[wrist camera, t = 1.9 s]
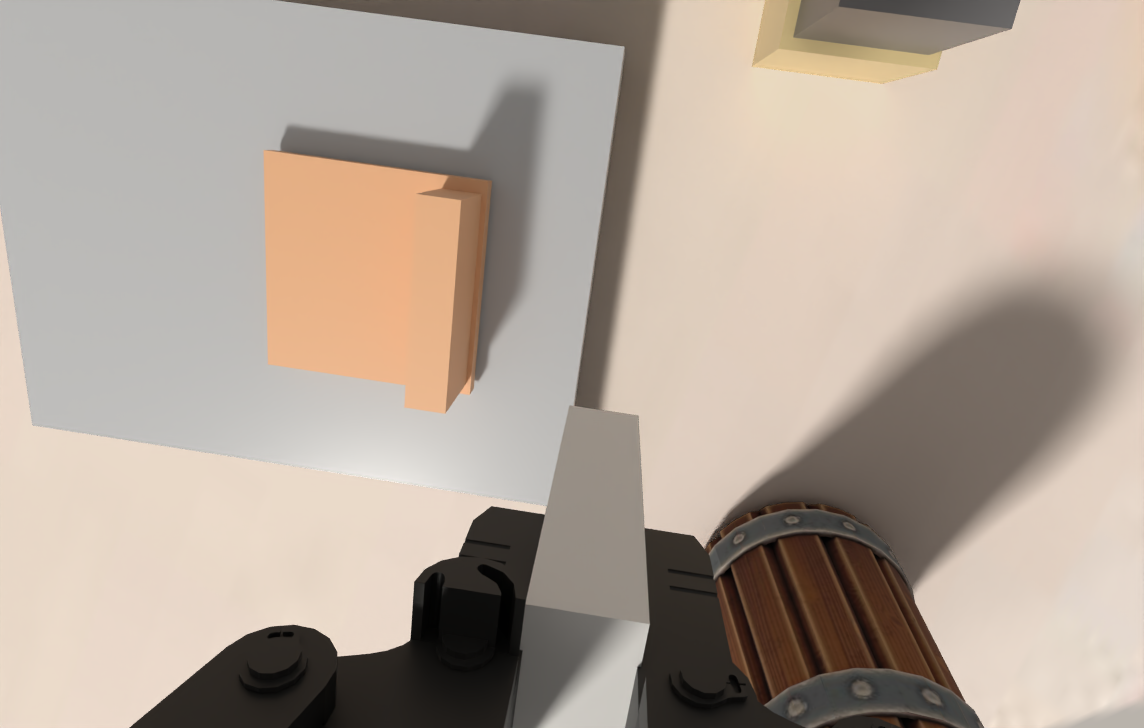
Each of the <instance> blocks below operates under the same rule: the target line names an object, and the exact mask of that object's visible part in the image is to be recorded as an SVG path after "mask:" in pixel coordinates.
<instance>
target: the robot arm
mask: <svg viewBox="0 0 1144 728" xmlns="http://www.w3.org/2000/svg"><path fill="white" fill-rule="evenodd" d="M130 728H806V727H803V726H801V725H799V724H796V723H794V722H792V721H789V720H787V719H786V718H784V717H782V716H780V715H778V714H776V713H774V712H772V711H771V710H770V709H768V708H767V707H765V706H764V705H763V704H761V703H760V702H759V701H758V700H757V696H756V693H755V691H754V689H753V687H752V685H751V683H750V681H749V679H748V677H747V676H746V675H745V674H744V673H743V672H742V671H741V670H740V669H739V668H738V667H737V666H736V665H735V664H734V663H732V658H731V654H730V649H729V644H728V640H727V635H726V630H725V626H724V621H723V616H722V612H721V607H720V602H719V598H718V597H717V588H716V584H715V580H714V574H713V570H712V565H711V560H710V556H709V554H708V553H707V552H706V551H705V549H704V548H703V547H702V546H701V544H700V543H699V542H698V541H697V539H696V538H695V537H694V536H691V535H684V534H678V533H672V532H665V531H659V530H653V529H646V528H644V510H643V491H642V473H641V454H640V436H639V417H638V416H637V415H631V414H624V413H618V412H611V411H604V410H598V409H591V408H585V407H578V406H571V405H569V409H568V414H567V418H566V423H565V427H564V432H563V436H562V441H561V445H560V450H559V454H558V459H557V463H556V468H555V472H554V477H553V481H552V486H551V490H550V495H549V499H548V504H547V508H546V513H545V515H544V514H537V513H531V512H525V511H518V510H512V509H505V508H499V507H493V506H491V507H490V508H489V509H487V510H486V511H485V512H484V513H482V514H481V515H480V516H478V517H477V518H476V519H474V520H473V522H472V525H471V527H470V529H469V532H468V534H467V537H466V539H465V543H464V544H463V546H462V549H461V551H460V553H459V557H457V558H452V559H447V560H442V561H440V562H438V563H436V564H434V565H432V566H430V567H428V568H427V569H425V570H424V571H423V572H422V573H421V575H420V576H419V577H418V578H417V579H416V580H415V582H414V596H413V611H412V626H411V639H410V641H409V642H407V643H406V644H404V645H402V646H399V647H396V648H393V649H391V650H388V651H383V652H377V653H372V654H362V655H352V656H341V657H337V651H336V649H335V647H334V645H333V644H332V642H331V640H330V638H328V637H327V636H325V635H323V634H322V633H320V632H319V631H317V630H315V629H312V628H307V627H302V626H297V625H287V626H274V627H268V628H265V629H262V630H259V631H256V632H253V633H250V634H247V635H245V636H244V637H242V638H241V639H239V640H237V641H236V642H234V643H233V644H231V645H229V646H228V647H226V648H225V649H224V650H223V651H221V652H220V653H219V654H218V655H217V656H215V657H214V658H213V659H212V660H211V661H209V662H208V663H207V664H206V665H205V666H203V667H202V668H201V669H200V670H198V671H197V672H196V673H195V674H194V675H192V676H191V677H190V678H189V679H188V680H186V681H185V682H184V683H183V684H182V685H180V686H179V687H178V688H177V689H176V690H174V691H173V692H172V693H171V694H170V695H168V696H167V697H166V698H165V699H163V700H162V701H161V702H160V703H159V704H157V705H156V706H155V707H154V708H153V709H151V710H150V711H149V712H148V713H147V714H145V715H144V716H143V717H142V718H141V719H139V720H138V721H137V722H136V723H135V724H133V725H132V726H131V727H130ZM832 728H901V727H898V726H896V725H894V724H891V723H889V722H886V721H884V720H881V719H879V718H872V717H865V716H858V715H856V716H852V717H848V718H844V719H840V720H839V721H838V722H837V723H836V724H835V725H834V726H833V727H832Z"/></svg>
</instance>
